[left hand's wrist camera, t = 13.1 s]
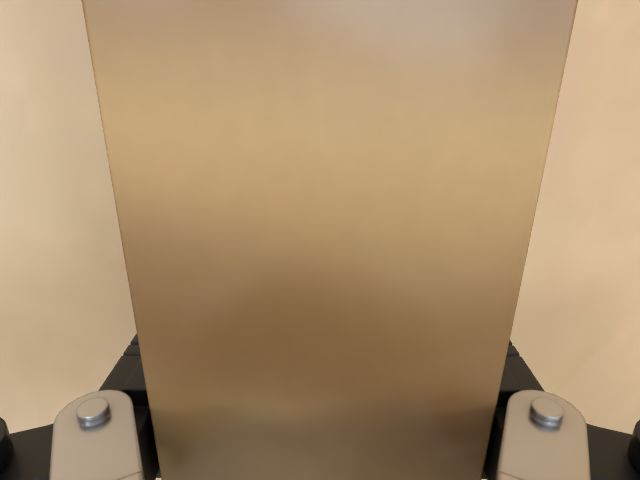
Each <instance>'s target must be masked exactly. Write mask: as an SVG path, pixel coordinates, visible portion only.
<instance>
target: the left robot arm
mask: <svg viewBox="0 0 640 480" xmlns="http://www.w3.org/2000/svg"><path fill="white" fill-rule="evenodd" d="M156 478H161V473H160V467H159V461H158V455H157V449H156V443H155V437H154V431H153V425H152V419H151V413H150V407H149V401H148V395H147V389H146V383H145V377H144V371H143V365H142V359H141V353H140V347H139V341H138V335H137V334H136V335H135V337H134V338H133V340H132V341H131V345H129V346H128V347H127V349H126V350H125V352H124V355H123V356H121V358H120V359H119V361H118V362H117V364H116V365H115V367H114V368H113V370H112V371H111V373H110V374H109V376H108V377H107V379H106V380H105V382H104V383H103V385H102V386H101V388H100V389H99V391H96V392H92V393H89V394H86V395H84V396H82V397H79V398H78V399H76V400H74V401H72V402H71V403H69V404H68V405H67V406H66V407H64V408H63V409H62V410H61V412H60V413H59V414H58V415H57V417H56V419H55V421H54V424H51V425H47V426H43V427H39V428H34V429H30V430H25V431H21V432H17V433H12V434H9V431H8V428H7V425H6V423H5V421H4V420H3V419H2V418H0V480H155V479H156ZM481 479H487V480H640V420H639V421H638V422H637V423H636V425H635V428H634V431H633V434H632V435H631V434H627V433H622V432H618V431H614V430H609V429H605V428H600V427H596V426H593V425H589V424H587V423H586V421H585V419H584V417H583V415H582V414H581V413H580V412H579V411H578V409H577V408H576V407H574V406H573V405H572V404H571V403H569V402H568V401H566V400H564V399H562V398H560V397H558V396H556V395H554V394H551V393H548V392H545V391H544V390H543V388H542V387H541V385H540V384H539V382H538V381H537V379H536V378H535V376H534V375H533V373H532V372H531V370H530V369H529V368H528V366H527V365H526V363H525V362H524V360H523V359H522V357H520V356H519V353H518V351H517V350H516V348H515V347H514V346H512V342H511V341H510V340H509V345H508V350H507V355H506V360H505V364H504V369H503V374H502V379H501V384H500V389H499V394H498V399H497V404H496V409H495V414H494V419H493V424H492V429H491V434H490V439H489V444H488V449H487V454H486V459H485V464H484V468H483V473H482V478H481Z"/></svg>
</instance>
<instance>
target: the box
mask: <svg viewBox="0 0 640 480" xmlns="http://www.w3.org/2000/svg"><path fill="white" fill-rule="evenodd" d="M577 3H578V0H82V5H83V11H84V17H85V23H86V29H87V35H88V41H89V47H90V53H91V59H92V65H93V71H94V77H95V83H96V89H97V95H98V101H99V107H100V113H101V119H102V125H103V131H104V137H105V143H106V149H107V155H108V161H109V167H110V173H111V179H112V185H113V191H114V197H115V203H116V209H117V215H118V221H119V227H120V233H121V239H122V245H123V251H124V257H125V263H126V269H127V275H128V281H129V287H130V293H131V299H132V305H133V311H134V317H135V323H136V329H137V335H138V341H139V347H140V353H141V359H142V365H143V371H144V377H145V383H146V389H147V395H148V401H149V407H150V413H151V419H152V425H153V431H154V437H155V443H156V449H157V455H158V461H159V467H160V473H161V479H162V480H481V478H482V473H483V468H484V464H485V459H486V454H487V449H488V444H489V439H490V434H491V429H492V424H493V419H494V414H495V409H496V404H497V399H498V394H499V389H500V384H501V379H502V374H503V369H504V364H505V360H506V355H507V350H508V345H509V340H510V335H511V330H512V325H513V320H514V315H515V310H516V305H517V300H518V295H519V290H520V285H521V280H522V275H523V270H524V265H525V260H526V255H527V251H528V246H529V241H530V236H531V231H532V226H533V221H534V216H535V211H536V206H537V201H538V196H539V191H540V186H541V181H542V176H543V171H544V166H545V161H546V156H547V151H548V147H549V142H550V137H551V132H552V127H553V122H554V117H555V112H556V107H557V102H558V97H559V92H560V87H561V82H562V77H563V72H564V67H565V62H566V57H567V52H568V47H569V43H570V38H571V33H572V28H573V23H574V18H575V13H576V8H577Z"/></svg>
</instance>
